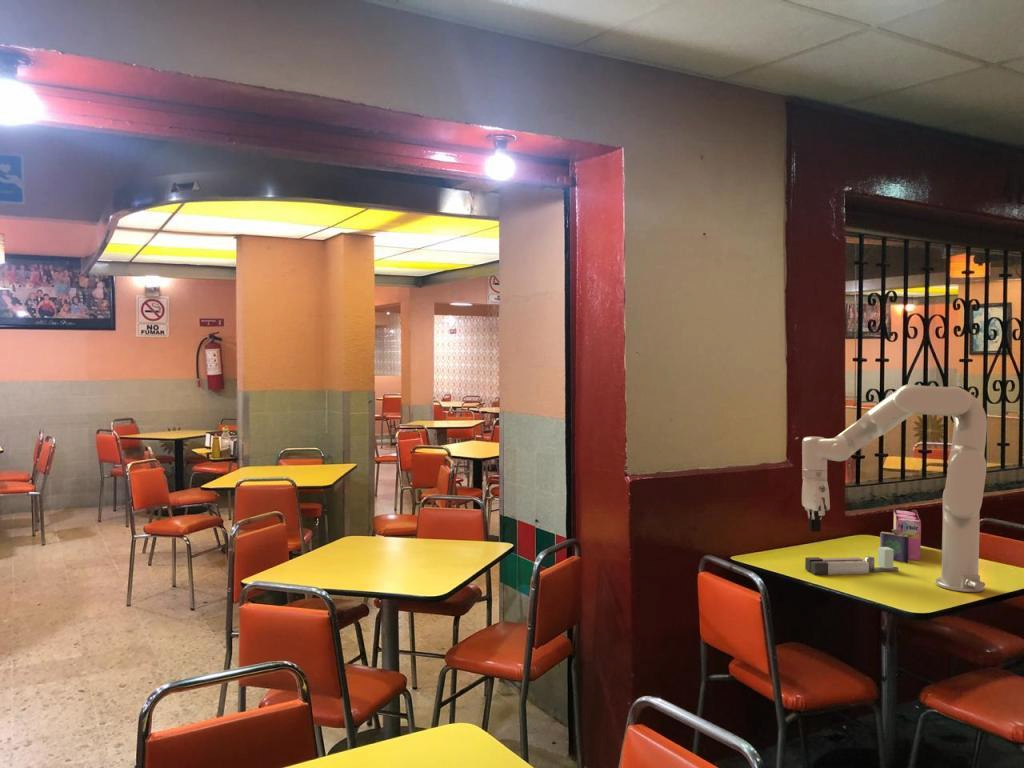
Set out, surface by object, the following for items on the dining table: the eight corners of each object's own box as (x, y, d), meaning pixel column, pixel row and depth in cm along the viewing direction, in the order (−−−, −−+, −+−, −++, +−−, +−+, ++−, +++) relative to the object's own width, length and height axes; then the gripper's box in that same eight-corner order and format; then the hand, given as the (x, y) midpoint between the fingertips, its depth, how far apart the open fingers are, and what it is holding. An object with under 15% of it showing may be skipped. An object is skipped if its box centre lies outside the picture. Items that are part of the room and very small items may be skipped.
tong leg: (863, 570, 246) (863, 558, 246) (809, 571, 244) (809, 559, 243) (858, 567, 248) (858, 556, 248) (805, 569, 246) (805, 557, 246)
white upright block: (893, 568, 245) (893, 549, 245) (884, 568, 244) (884, 549, 244) (886, 565, 248) (887, 546, 248) (878, 565, 248) (878, 547, 248)
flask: (878, 558, 263) (879, 527, 263) (882, 556, 265) (883, 525, 265) (906, 563, 256) (907, 531, 256) (910, 562, 258) (911, 530, 258)
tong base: (903, 573, 244) (903, 559, 244) (814, 575, 240) (815, 561, 240) (894, 569, 248) (894, 555, 248) (807, 571, 245) (807, 557, 245)
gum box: (892, 544, 284) (893, 507, 284) (916, 546, 281) (917, 509, 281) (894, 558, 263) (895, 519, 262) (920, 561, 259) (921, 521, 259)
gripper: (837, 477, 241) (837, 535, 241) (813, 471, 256) (814, 526, 256) (815, 478, 240) (815, 536, 240) (792, 472, 255) (792, 526, 255)
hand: (814, 530), depth 248 cm, fingers closed
